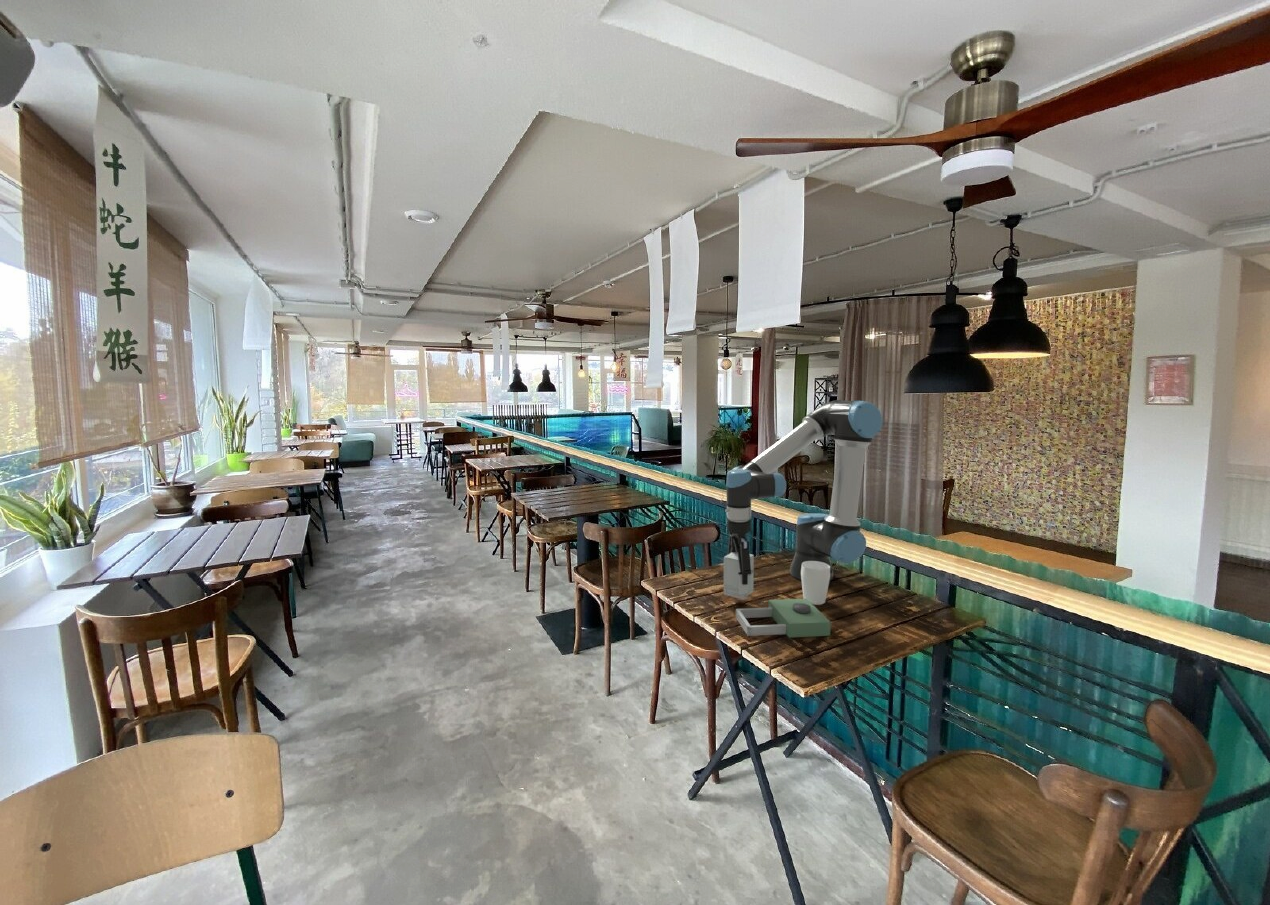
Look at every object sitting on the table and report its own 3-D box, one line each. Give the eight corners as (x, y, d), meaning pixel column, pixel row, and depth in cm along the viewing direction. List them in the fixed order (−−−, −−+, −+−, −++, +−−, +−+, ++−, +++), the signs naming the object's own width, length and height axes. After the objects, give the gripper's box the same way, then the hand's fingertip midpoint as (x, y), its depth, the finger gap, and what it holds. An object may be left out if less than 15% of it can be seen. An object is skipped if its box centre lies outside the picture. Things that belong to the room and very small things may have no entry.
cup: (831, 607, 160) (833, 571, 159) (801, 605, 162) (802, 569, 161) (826, 596, 169) (828, 561, 168) (798, 594, 171) (799, 559, 170)
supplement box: (744, 600, 158) (744, 561, 156) (722, 594, 162) (722, 556, 161) (754, 592, 164) (754, 554, 162) (733, 587, 168) (733, 550, 166)
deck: (805, 610, 158) (806, 594, 158) (830, 635, 142) (831, 617, 142) (733, 613, 156) (733, 597, 155) (750, 639, 140) (750, 621, 140)
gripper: (717, 510, 170) (718, 574, 174) (737, 529, 148) (737, 602, 151) (739, 509, 171) (739, 573, 174) (762, 528, 149) (762, 600, 152)
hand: (738, 586), depth 163 cm, fingers closed on supplement box, 10 cm apart
